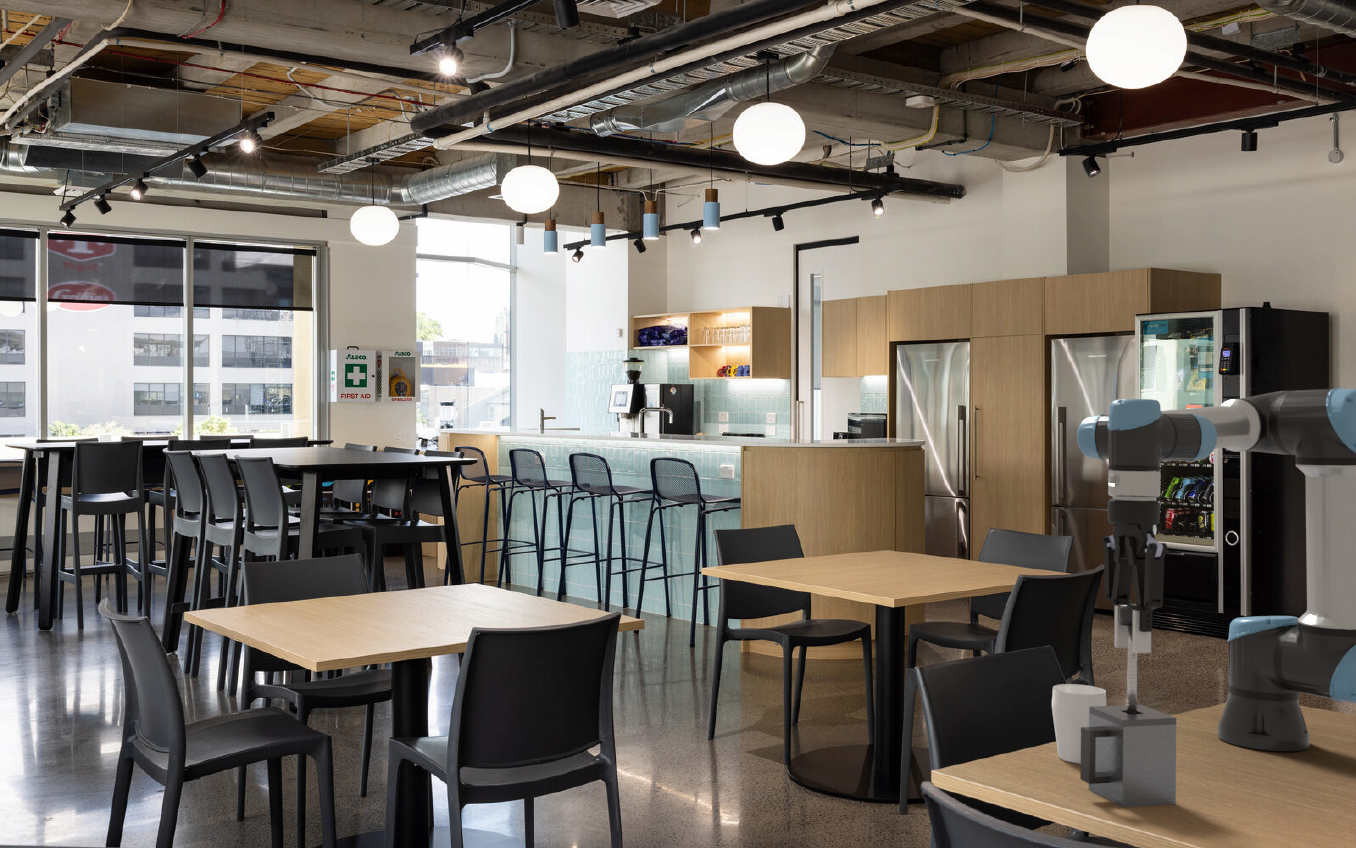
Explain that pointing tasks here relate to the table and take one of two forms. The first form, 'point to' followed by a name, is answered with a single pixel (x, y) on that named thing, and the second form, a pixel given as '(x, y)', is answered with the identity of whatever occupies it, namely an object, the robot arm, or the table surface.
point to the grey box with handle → (1130, 755)
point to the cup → (1073, 716)
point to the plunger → (1130, 657)
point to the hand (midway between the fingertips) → (1132, 649)
